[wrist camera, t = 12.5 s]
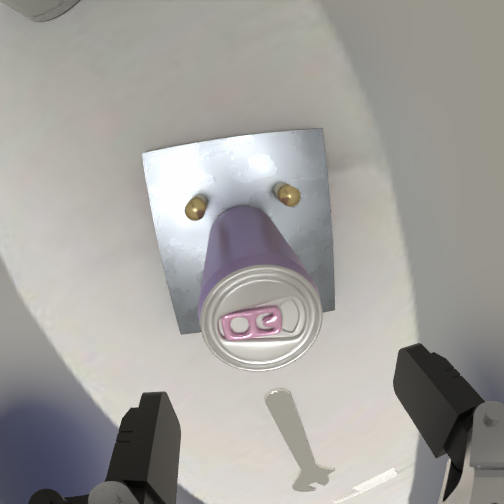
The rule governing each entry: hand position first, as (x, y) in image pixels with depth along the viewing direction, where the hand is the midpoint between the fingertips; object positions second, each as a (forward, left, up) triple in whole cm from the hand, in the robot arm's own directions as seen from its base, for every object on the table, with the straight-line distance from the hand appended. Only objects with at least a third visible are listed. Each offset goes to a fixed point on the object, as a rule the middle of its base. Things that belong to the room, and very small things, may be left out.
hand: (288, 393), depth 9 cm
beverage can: (0, 0, -20) cm, 20 cm away
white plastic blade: (+57, +17, -22) cm, 64 cm away
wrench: (+36, +4, -22) cm, 42 cm away
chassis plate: (0, 0, -21) cm, 21 cm away
